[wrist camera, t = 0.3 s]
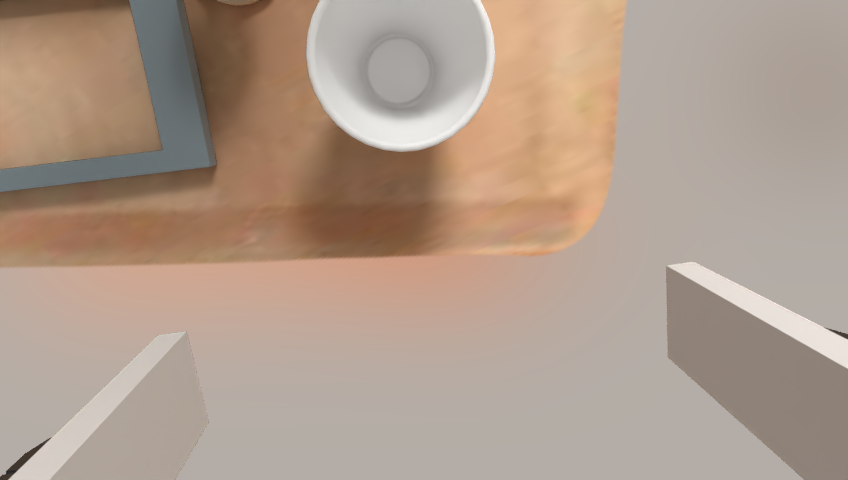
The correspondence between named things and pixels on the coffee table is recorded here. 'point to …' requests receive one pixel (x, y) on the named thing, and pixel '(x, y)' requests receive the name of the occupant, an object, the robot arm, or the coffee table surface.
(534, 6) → the coffee table surface
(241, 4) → the bobbin
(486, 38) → the cup
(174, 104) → the blue-grey u-shaped bracket
